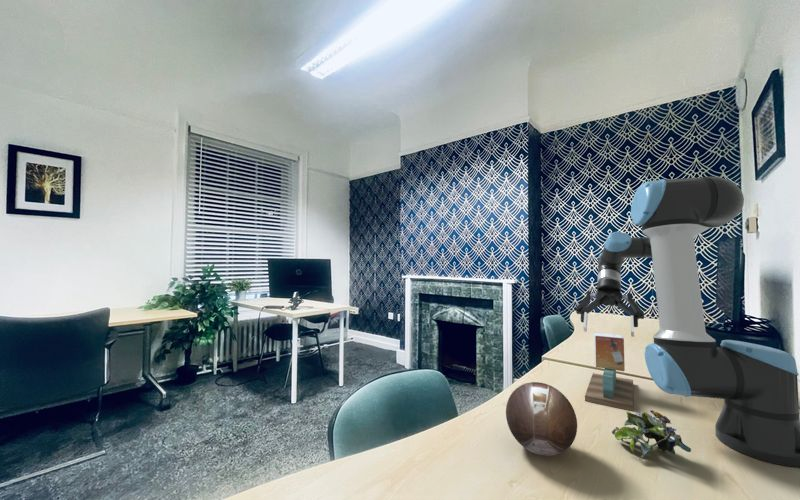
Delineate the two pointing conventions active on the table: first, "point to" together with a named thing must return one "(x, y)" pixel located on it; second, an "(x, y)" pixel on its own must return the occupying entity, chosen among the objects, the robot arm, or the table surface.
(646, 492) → the table surface
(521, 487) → the table surface
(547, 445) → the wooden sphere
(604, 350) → the small box
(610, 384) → the ridge stand
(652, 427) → the green leafy plant
